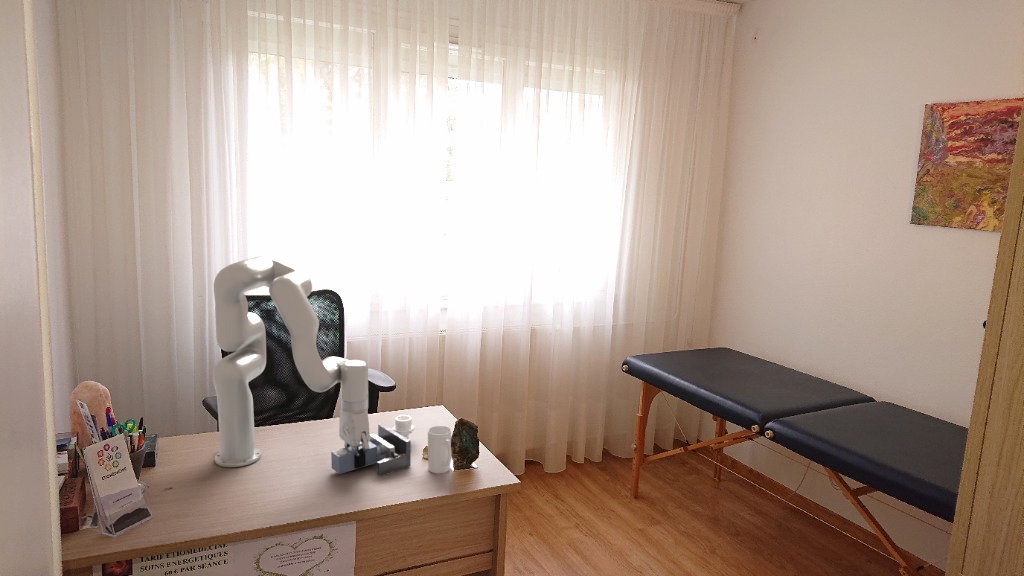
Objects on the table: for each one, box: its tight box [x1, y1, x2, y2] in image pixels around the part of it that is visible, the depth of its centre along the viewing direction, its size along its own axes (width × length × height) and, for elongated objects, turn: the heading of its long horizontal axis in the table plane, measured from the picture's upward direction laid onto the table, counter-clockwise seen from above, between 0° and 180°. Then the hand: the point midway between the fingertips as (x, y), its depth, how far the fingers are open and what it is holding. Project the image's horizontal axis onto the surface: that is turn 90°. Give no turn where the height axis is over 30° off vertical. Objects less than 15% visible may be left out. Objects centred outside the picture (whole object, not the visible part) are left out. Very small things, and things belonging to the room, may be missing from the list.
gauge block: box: [330, 441, 381, 475], centre depth 189 cm, size 5×14×5 cm, turn 131°
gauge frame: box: [360, 423, 412, 477], centre depth 194 cm, size 10×16×8 cm, turn 41°
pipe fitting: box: [391, 414, 415, 440], centre depth 208 cm, size 6×7×8 cm
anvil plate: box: [369, 433, 398, 461], centre depth 193 cm, size 2×15×6 cm, turn 41°
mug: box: [427, 425, 452, 474], centre depth 189 cm, size 10×7×12 cm, turn 34°
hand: (355, 463), depth 189 cm, fingers closed on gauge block, 4 cm apart
